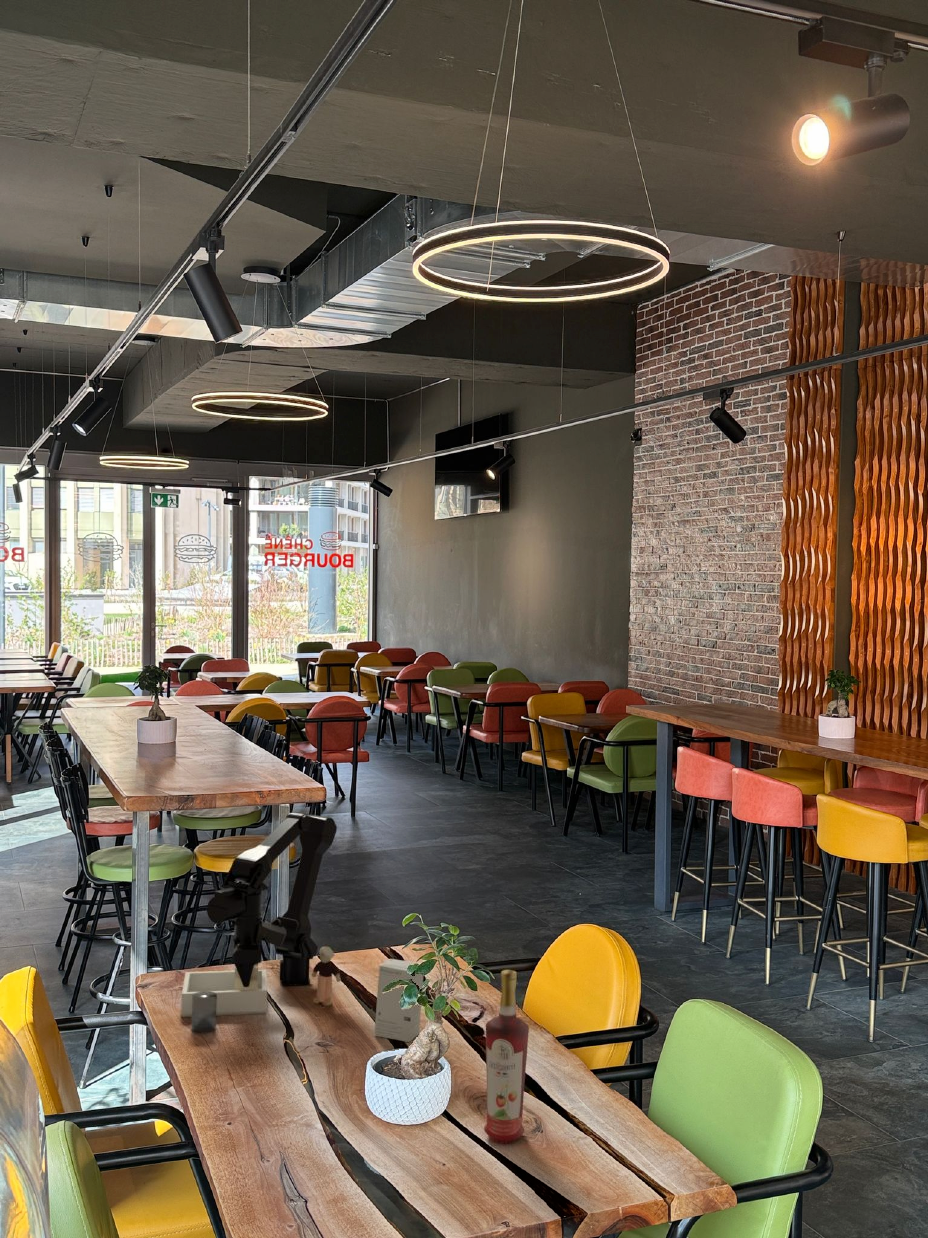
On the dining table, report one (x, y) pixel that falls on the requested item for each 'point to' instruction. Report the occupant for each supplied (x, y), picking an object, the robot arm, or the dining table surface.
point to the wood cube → (253, 981)
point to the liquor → (506, 1066)
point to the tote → (225, 993)
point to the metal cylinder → (204, 1012)
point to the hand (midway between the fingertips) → (246, 982)
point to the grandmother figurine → (325, 976)
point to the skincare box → (396, 1003)
